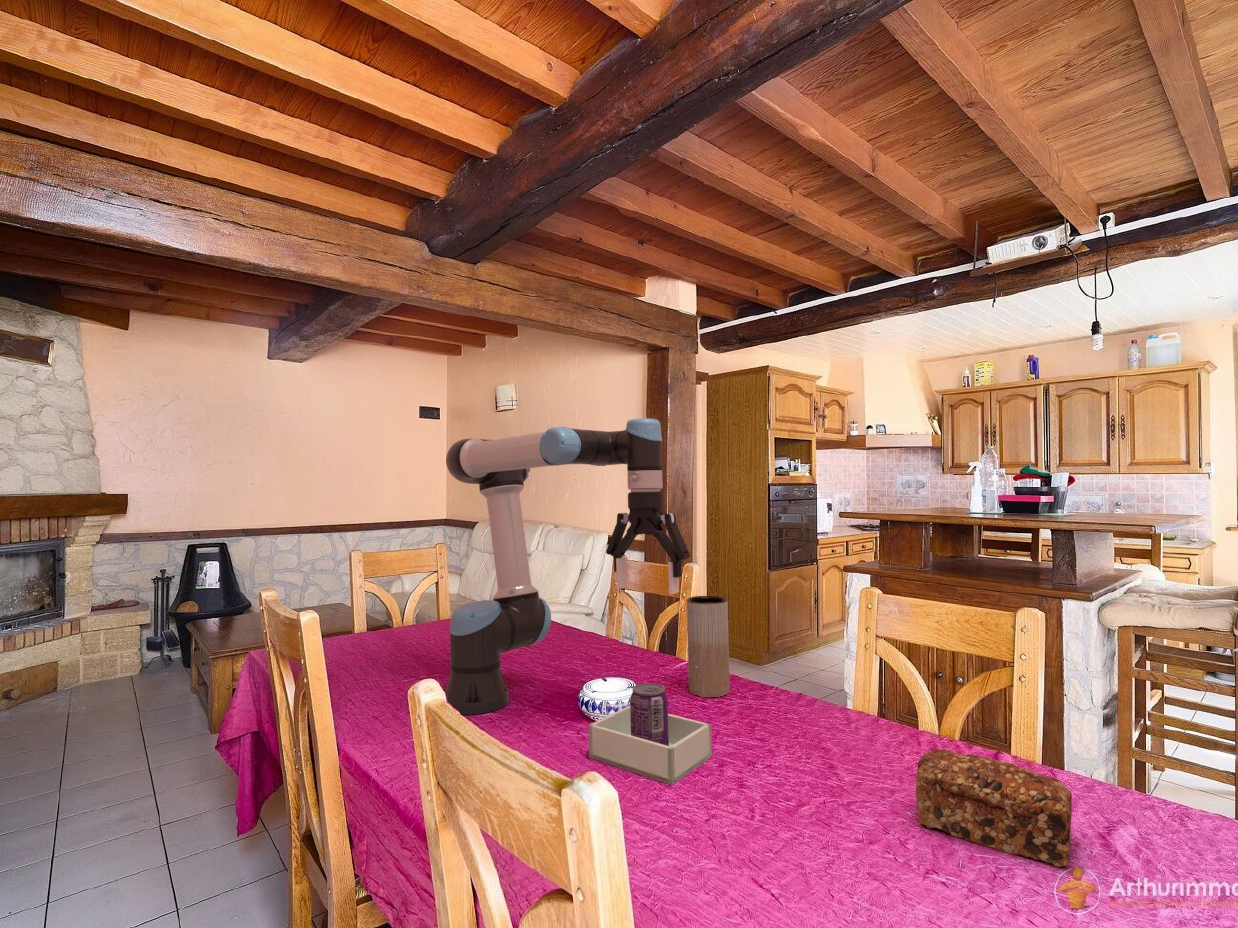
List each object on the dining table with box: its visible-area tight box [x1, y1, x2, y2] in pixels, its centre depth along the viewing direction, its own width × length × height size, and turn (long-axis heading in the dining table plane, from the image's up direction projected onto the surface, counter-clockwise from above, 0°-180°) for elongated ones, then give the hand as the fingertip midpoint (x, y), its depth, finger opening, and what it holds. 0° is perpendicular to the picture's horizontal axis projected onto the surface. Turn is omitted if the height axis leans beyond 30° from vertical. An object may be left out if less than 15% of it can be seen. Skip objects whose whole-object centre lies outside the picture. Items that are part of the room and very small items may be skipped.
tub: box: [588, 705, 713, 786], centre depth 117 cm, size 19×14×6 cm
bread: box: [915, 748, 1073, 867], centre depth 90 cm, size 19×11×10 cm, turn 51°
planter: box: [686, 595, 731, 698], centre depth 153 cm, size 10×10×23 cm
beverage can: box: [629, 682, 669, 746], centre depth 117 cm, size 7×7×12 cm
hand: (647, 590), depth 132 cm, fingers open, 13 cm apart
